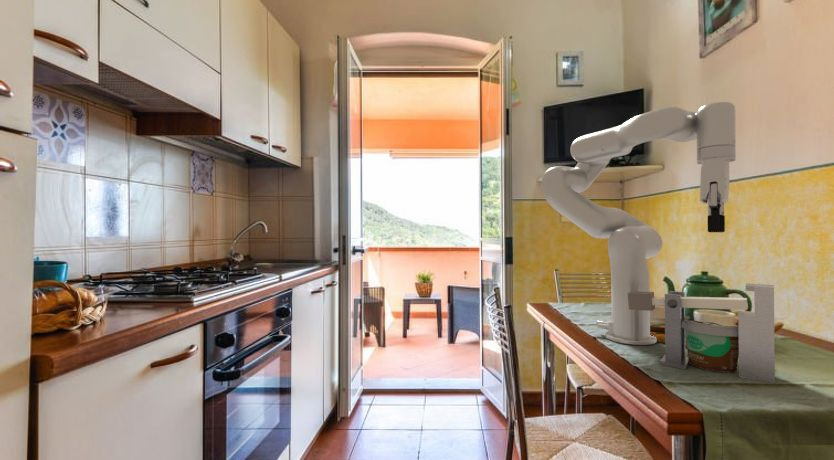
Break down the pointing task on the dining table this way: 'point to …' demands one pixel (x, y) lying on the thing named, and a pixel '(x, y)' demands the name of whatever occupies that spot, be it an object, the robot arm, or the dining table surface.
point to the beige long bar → (684, 302)
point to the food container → (712, 345)
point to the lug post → (758, 336)
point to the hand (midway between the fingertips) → (716, 232)
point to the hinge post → (674, 332)
